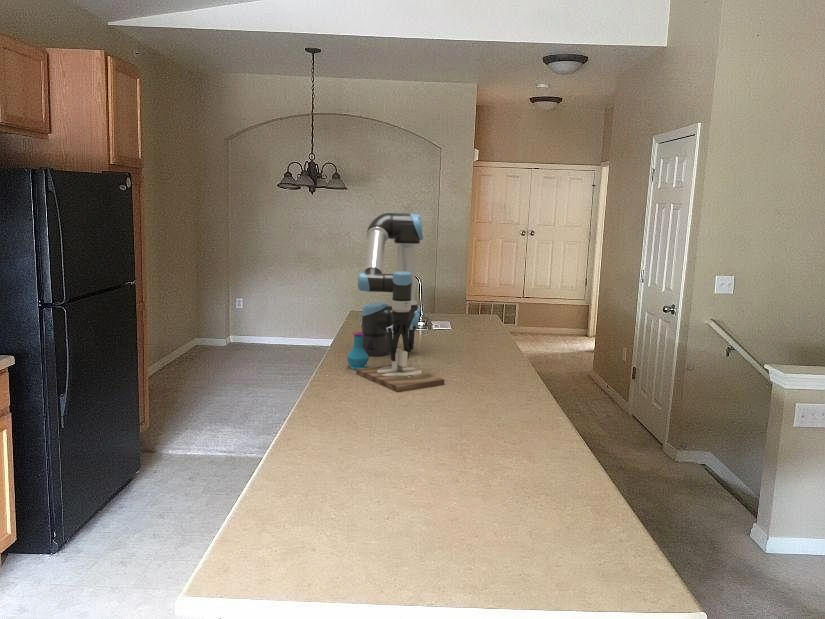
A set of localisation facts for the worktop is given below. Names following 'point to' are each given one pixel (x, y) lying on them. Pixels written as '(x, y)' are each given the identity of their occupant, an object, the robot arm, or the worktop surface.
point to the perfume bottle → (358, 353)
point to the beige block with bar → (399, 361)
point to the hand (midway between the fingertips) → (399, 367)
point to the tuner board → (400, 378)
